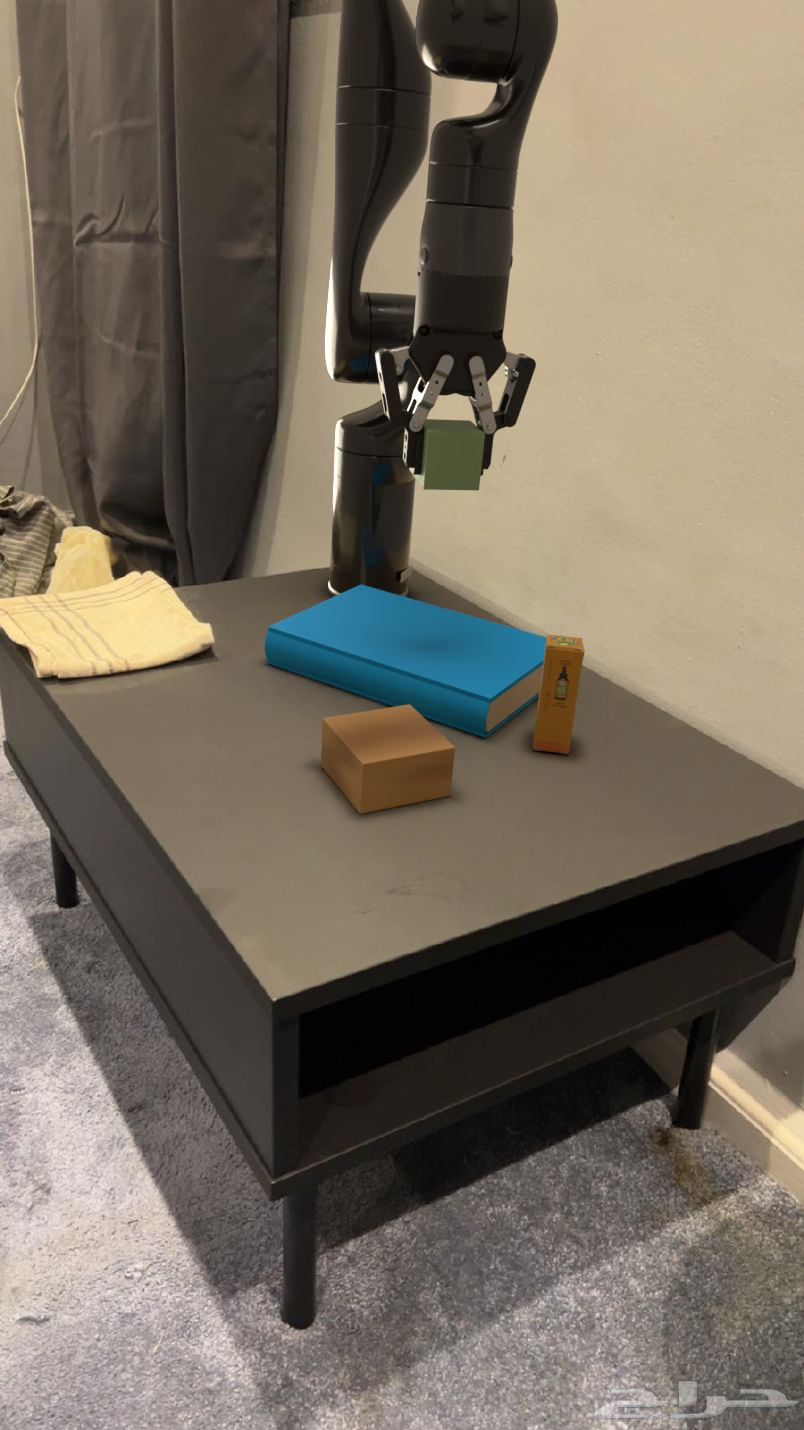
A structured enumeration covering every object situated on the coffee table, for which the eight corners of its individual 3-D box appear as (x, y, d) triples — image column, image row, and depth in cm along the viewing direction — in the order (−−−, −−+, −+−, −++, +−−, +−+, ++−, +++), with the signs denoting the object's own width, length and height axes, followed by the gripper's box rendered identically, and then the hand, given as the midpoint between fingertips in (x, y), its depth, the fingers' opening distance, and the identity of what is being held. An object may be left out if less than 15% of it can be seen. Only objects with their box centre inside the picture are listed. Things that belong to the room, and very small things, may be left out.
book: (359, 583, 116) (568, 638, 105) (357, 620, 118) (563, 678, 107) (262, 628, 103) (490, 696, 91) (262, 668, 104) (485, 740, 93)
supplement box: (569, 738, 95) (586, 636, 90) (568, 756, 92) (585, 651, 87) (532, 733, 95) (547, 631, 91) (530, 751, 92) (545, 646, 88)
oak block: (320, 765, 87) (322, 717, 85) (406, 750, 91) (410, 703, 89) (360, 814, 81) (363, 763, 79) (450, 796, 84) (455, 747, 82)
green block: (411, 474, 95) (416, 418, 93) (465, 475, 96) (470, 420, 94) (423, 489, 91) (428, 431, 89) (479, 490, 92) (485, 433, 90)
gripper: (534, 267, 90) (510, 464, 98) (369, 257, 87) (359, 461, 95) (562, 276, 84) (535, 486, 92) (386, 265, 81) (373, 483, 89)
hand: (445, 472), depth 93 cm, fingers closed on green block, 5 cm apart
